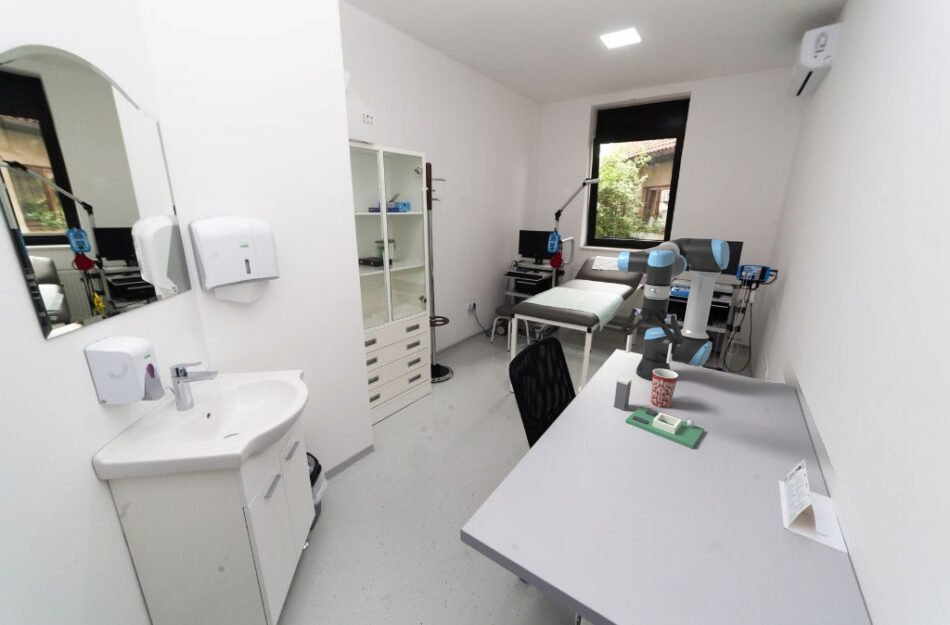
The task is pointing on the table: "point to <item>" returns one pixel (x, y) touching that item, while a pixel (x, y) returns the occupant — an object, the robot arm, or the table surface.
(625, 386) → the plug
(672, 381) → the mug
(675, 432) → the board
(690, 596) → the table surface
